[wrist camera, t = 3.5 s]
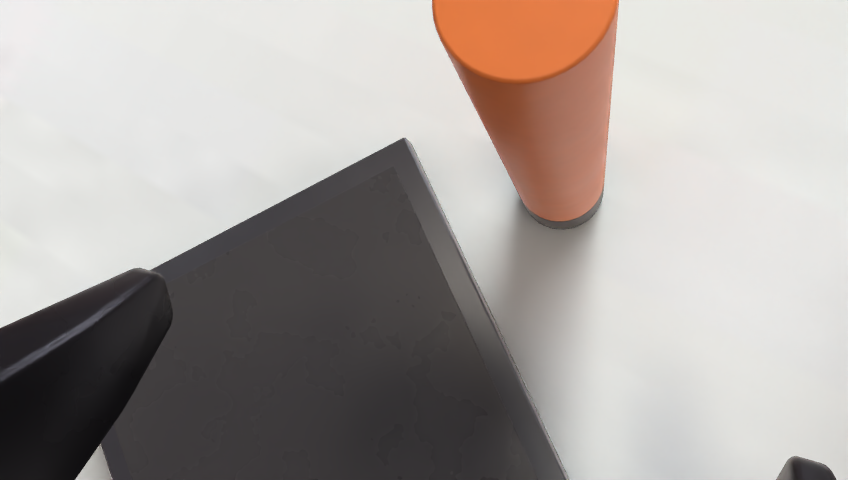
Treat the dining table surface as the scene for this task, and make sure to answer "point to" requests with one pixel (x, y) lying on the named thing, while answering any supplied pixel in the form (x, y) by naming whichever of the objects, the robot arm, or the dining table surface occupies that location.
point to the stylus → (539, 93)
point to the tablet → (333, 349)
